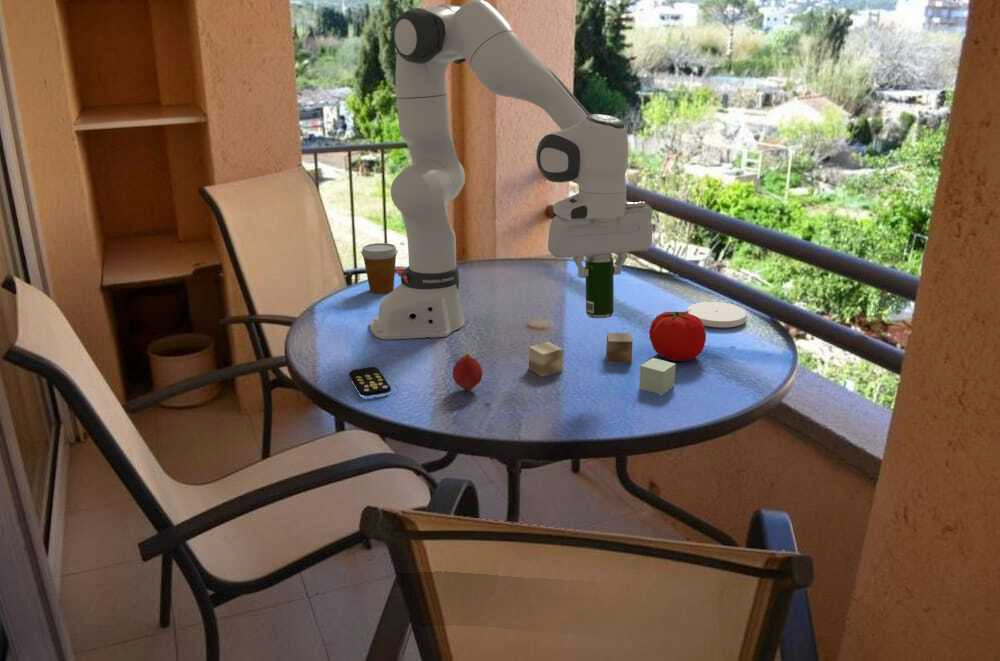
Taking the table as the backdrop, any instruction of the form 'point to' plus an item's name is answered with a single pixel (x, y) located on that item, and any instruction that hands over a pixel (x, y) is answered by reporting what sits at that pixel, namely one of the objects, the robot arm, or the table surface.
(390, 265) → the disposable coffee cup
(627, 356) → the walnut block
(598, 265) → the beer can
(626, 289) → the table surface
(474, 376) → the onion
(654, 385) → the sage painted block
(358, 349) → the table surface
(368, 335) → the table surface
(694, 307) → the plastic lid
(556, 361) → the beech block
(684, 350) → the tomato
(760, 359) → the table surface
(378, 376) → the remote control
